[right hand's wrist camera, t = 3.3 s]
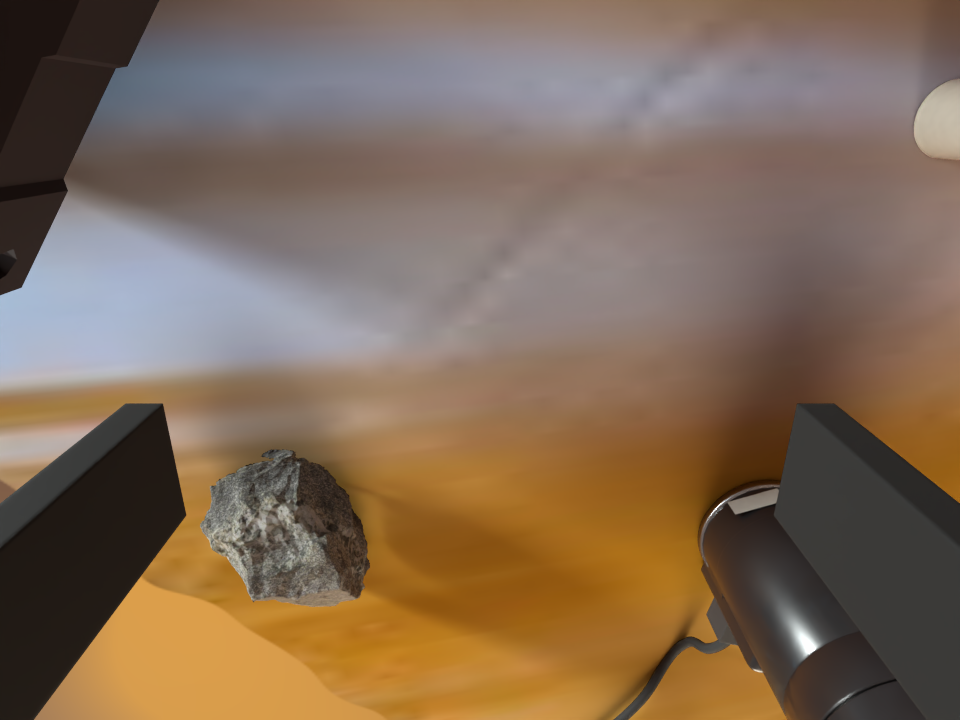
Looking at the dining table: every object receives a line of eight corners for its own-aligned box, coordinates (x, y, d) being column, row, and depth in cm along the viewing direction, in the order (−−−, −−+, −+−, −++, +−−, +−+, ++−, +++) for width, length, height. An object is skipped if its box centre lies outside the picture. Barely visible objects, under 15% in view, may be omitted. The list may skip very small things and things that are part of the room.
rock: (200, 491, 46) (159, 548, 39) (273, 417, 43) (241, 465, 37) (338, 591, 49) (319, 657, 43) (411, 527, 47) (402, 586, 41)
